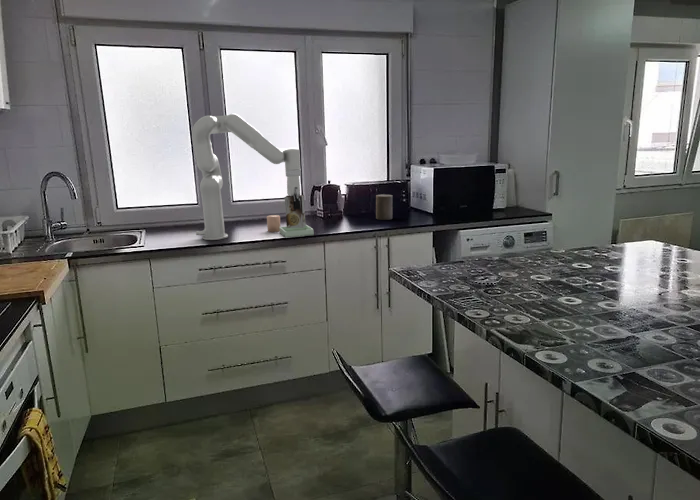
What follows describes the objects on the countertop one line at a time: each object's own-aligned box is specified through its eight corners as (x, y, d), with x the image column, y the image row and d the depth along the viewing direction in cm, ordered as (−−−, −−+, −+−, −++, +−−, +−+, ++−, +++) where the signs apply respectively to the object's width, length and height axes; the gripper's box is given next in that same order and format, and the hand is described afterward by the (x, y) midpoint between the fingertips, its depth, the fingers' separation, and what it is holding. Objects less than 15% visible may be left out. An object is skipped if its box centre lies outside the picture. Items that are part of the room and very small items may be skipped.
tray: (285, 237, 254) (285, 231, 253) (279, 232, 268) (279, 227, 267) (313, 235, 258) (313, 229, 258) (306, 230, 272) (306, 224, 271)
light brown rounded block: (268, 232, 269) (267, 217, 267) (266, 230, 275) (265, 215, 274) (282, 231, 271) (281, 216, 269) (279, 229, 278) (278, 214, 276)
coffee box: (306, 225, 265) (304, 194, 261) (303, 228, 259) (302, 196, 255) (288, 225, 266) (287, 195, 262) (286, 228, 260) (284, 196, 256)
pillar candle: (378, 220, 295) (378, 194, 292) (374, 217, 304) (373, 192, 301) (394, 219, 298) (394, 193, 294) (389, 216, 307) (389, 191, 303)
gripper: (282, 172, 263) (284, 206, 267) (289, 174, 247) (291, 210, 251) (296, 171, 265) (298, 205, 269) (304, 174, 249) (306, 209, 253)
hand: (295, 207), depth 260 cm, fingers closed on coffee box, 8 cm apart
